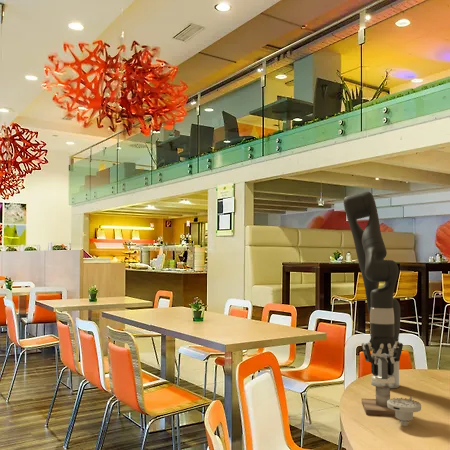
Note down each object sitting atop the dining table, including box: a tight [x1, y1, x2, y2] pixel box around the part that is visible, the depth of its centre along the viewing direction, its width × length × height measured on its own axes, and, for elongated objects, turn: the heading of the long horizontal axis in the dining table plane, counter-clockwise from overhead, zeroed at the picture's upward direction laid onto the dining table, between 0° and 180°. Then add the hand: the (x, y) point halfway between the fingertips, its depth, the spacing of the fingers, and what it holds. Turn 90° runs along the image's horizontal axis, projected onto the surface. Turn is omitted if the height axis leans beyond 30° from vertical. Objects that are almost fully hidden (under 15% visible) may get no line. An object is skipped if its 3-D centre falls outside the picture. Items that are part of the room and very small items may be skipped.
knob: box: [370, 357, 395, 389], centre depth 163 cm, size 7×8×8 cm
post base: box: [361, 386, 396, 417], centre depth 162 cm, size 13×12×8 cm
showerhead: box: [387, 396, 422, 427], centre depth 147 cm, size 9×7×10 cm
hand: (382, 374), depth 162 cm, fingers open, 4 cm apart
